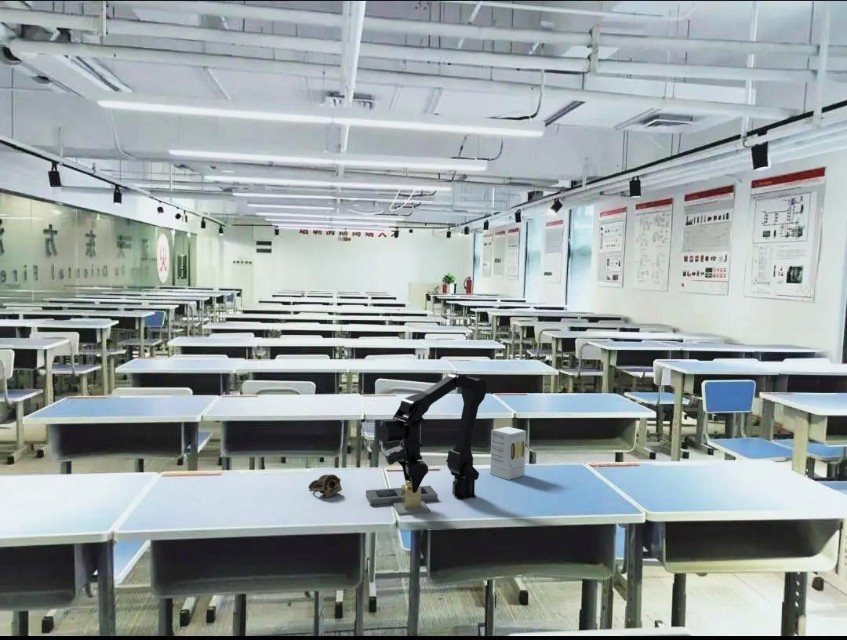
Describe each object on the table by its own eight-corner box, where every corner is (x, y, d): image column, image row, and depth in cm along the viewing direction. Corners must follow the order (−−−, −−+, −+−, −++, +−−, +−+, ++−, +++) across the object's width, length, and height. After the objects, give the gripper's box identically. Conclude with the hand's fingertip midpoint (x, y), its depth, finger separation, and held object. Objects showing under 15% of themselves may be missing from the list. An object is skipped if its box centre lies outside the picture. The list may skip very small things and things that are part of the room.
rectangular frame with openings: (430, 491, 213) (430, 485, 213) (437, 500, 204) (437, 494, 204) (365, 496, 207) (365, 490, 207) (370, 505, 199) (370, 499, 198)
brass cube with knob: (416, 502, 200) (416, 477, 200) (420, 508, 196) (421, 482, 195) (401, 503, 199) (401, 479, 199) (405, 509, 194) (405, 484, 194)
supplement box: (508, 480, 226) (509, 434, 225) (489, 474, 233) (490, 429, 232) (525, 475, 232) (526, 430, 231) (506, 469, 239) (507, 425, 238)
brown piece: (312, 484, 202) (341, 475, 205) (303, 469, 213) (332, 460, 217) (316, 504, 204) (345, 494, 207) (308, 488, 215) (336, 479, 219)
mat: (422, 501, 203) (422, 499, 203) (430, 512, 194) (430, 510, 194) (392, 503, 201) (392, 501, 201) (398, 514, 191) (398, 513, 191)
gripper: (380, 432, 203) (379, 480, 204) (392, 448, 185) (391, 500, 186) (413, 431, 206) (413, 478, 207) (429, 446, 188) (428, 497, 189)
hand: (410, 487), depth 197 cm, fingers open, 9 cm apart
